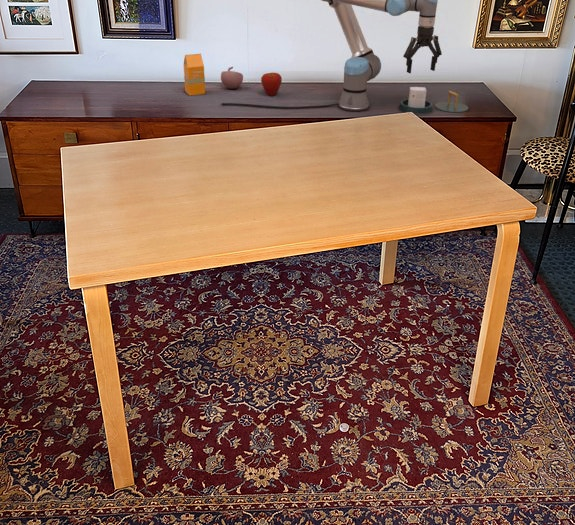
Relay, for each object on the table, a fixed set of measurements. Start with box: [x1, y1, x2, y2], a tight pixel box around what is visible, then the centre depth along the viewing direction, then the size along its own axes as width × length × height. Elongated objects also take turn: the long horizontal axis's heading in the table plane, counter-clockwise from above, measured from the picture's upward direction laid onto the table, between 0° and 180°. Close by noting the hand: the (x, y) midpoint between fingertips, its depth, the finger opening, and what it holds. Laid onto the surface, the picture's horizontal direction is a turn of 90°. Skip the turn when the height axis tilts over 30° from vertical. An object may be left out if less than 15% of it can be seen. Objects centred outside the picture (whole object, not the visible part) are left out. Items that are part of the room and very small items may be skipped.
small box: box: [407, 86, 427, 108], centre depth 318 cm, size 8×6×10 cm
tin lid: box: [434, 90, 469, 114], centre depth 320 cm, size 17×17×8 cm
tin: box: [399, 98, 433, 114], centre depth 320 cm, size 16×16×3 cm
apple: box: [260, 72, 283, 97], centre depth 334 cm, size 11×11×12 cm
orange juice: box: [183, 53, 206, 96], centre depth 333 cm, size 8×9×20 cm
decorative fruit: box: [220, 66, 244, 90], centre depth 343 cm, size 12×12×12 cm
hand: (420, 71), depth 311 cm, fingers open, 13 cm apart
